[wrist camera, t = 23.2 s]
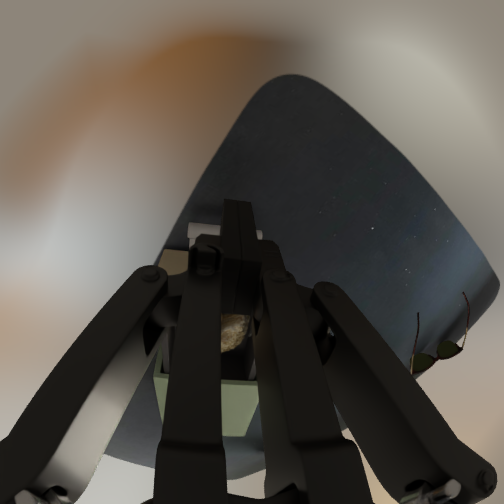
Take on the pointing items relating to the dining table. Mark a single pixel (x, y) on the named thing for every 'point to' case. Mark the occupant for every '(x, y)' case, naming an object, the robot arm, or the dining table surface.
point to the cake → (233, 330)
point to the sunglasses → (444, 351)
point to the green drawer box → (232, 395)
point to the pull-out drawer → (175, 262)
